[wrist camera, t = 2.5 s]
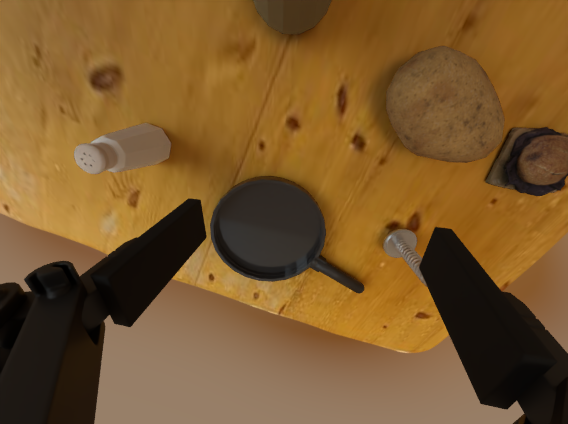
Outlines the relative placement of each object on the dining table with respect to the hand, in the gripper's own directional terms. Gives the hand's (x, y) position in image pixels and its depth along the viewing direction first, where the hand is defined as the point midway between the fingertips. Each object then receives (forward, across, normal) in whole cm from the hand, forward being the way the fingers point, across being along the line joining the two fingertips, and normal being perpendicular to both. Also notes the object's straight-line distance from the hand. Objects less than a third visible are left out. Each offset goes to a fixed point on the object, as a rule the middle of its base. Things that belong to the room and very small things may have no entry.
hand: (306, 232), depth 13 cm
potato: (+24, +12, +5) cm, 27 cm away
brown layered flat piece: (+26, +28, -1) cm, 38 cm away
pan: (+18, -7, -12) cm, 23 cm away
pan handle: (+19, +4, -20) cm, 28 cm away
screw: (+22, +12, -13) cm, 28 cm away
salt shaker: (+17, -23, 0) cm, 28 cm away
